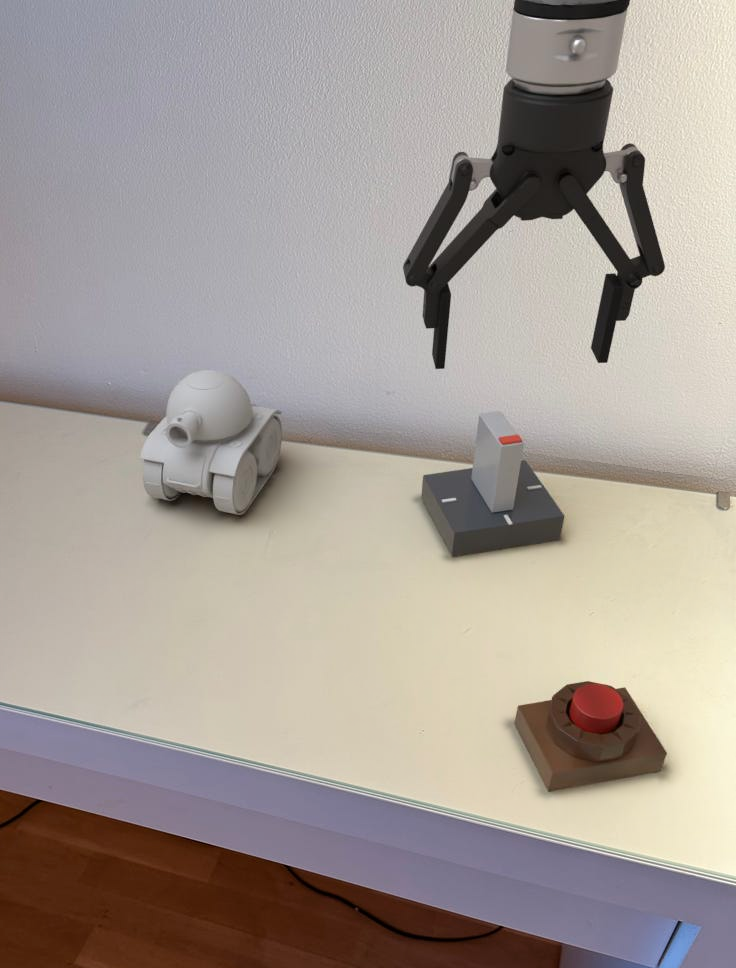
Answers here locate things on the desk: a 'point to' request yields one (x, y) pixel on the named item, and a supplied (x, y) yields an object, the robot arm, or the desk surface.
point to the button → (596, 708)
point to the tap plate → (490, 513)
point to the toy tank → (212, 443)
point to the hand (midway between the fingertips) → (518, 358)
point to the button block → (586, 742)
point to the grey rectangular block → (497, 461)
